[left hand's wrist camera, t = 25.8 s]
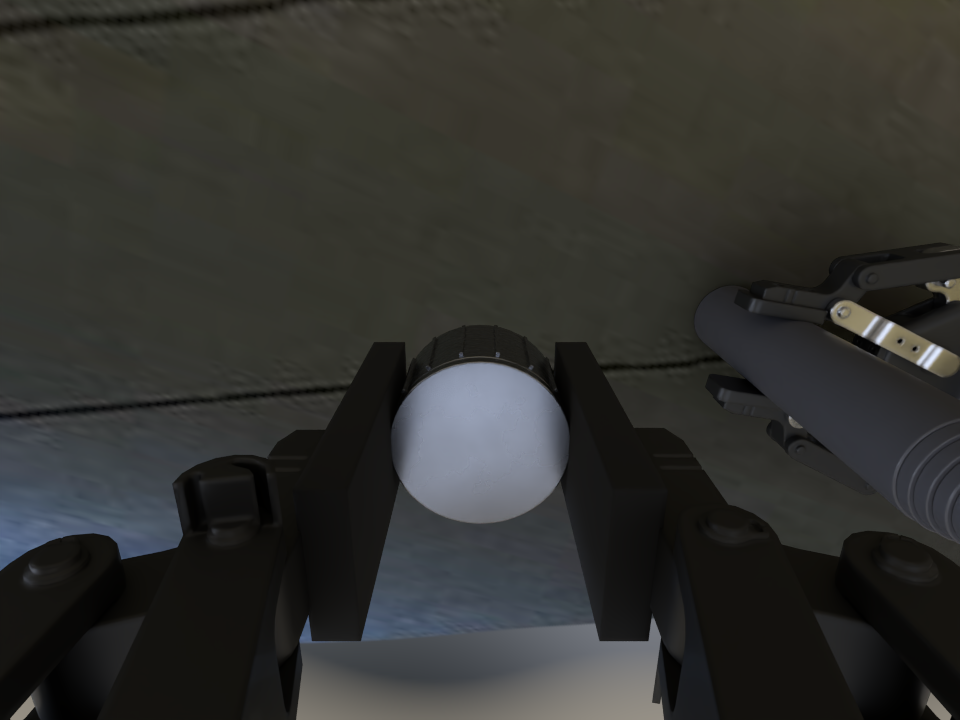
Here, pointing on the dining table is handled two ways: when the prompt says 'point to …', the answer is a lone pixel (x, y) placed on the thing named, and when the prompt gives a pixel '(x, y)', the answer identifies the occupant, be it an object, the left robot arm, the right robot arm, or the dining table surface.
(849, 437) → the dark grey cylinder
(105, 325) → the dining table surface
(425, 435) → the cap
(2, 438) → the dining table surface
